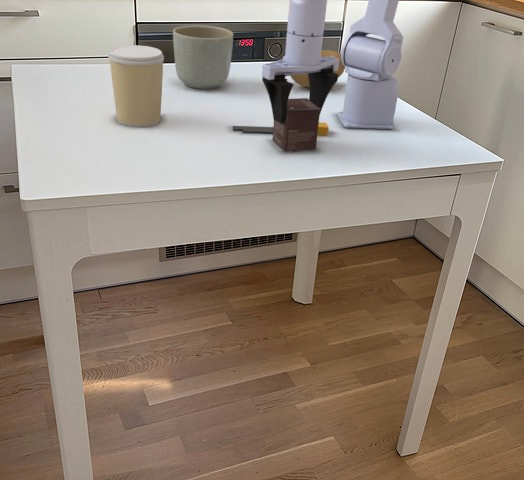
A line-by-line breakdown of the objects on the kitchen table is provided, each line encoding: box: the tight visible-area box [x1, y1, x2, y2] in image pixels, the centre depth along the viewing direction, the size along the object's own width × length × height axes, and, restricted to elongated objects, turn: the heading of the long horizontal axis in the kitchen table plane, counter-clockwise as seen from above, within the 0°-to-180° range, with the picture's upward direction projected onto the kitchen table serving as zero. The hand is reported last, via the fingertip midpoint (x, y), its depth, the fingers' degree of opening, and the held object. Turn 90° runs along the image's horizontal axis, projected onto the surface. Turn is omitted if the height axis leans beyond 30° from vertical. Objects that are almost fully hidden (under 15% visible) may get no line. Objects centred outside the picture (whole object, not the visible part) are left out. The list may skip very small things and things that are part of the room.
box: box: [271, 97, 321, 153], centre depth 109 cm, size 6×6×7 cm
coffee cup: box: [108, 44, 165, 128], centre depth 113 cm, size 9×9×12 cm
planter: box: [172, 24, 234, 90], centre depth 135 cm, size 12×12×11 cm
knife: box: [232, 121, 330, 137], centre depth 116 cm, size 17×3×2 cm, turn 96°
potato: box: [290, 49, 346, 89], centre depth 140 cm, size 10×14×8 cm
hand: (296, 117), depth 108 cm, fingers open, 7 cm apart
